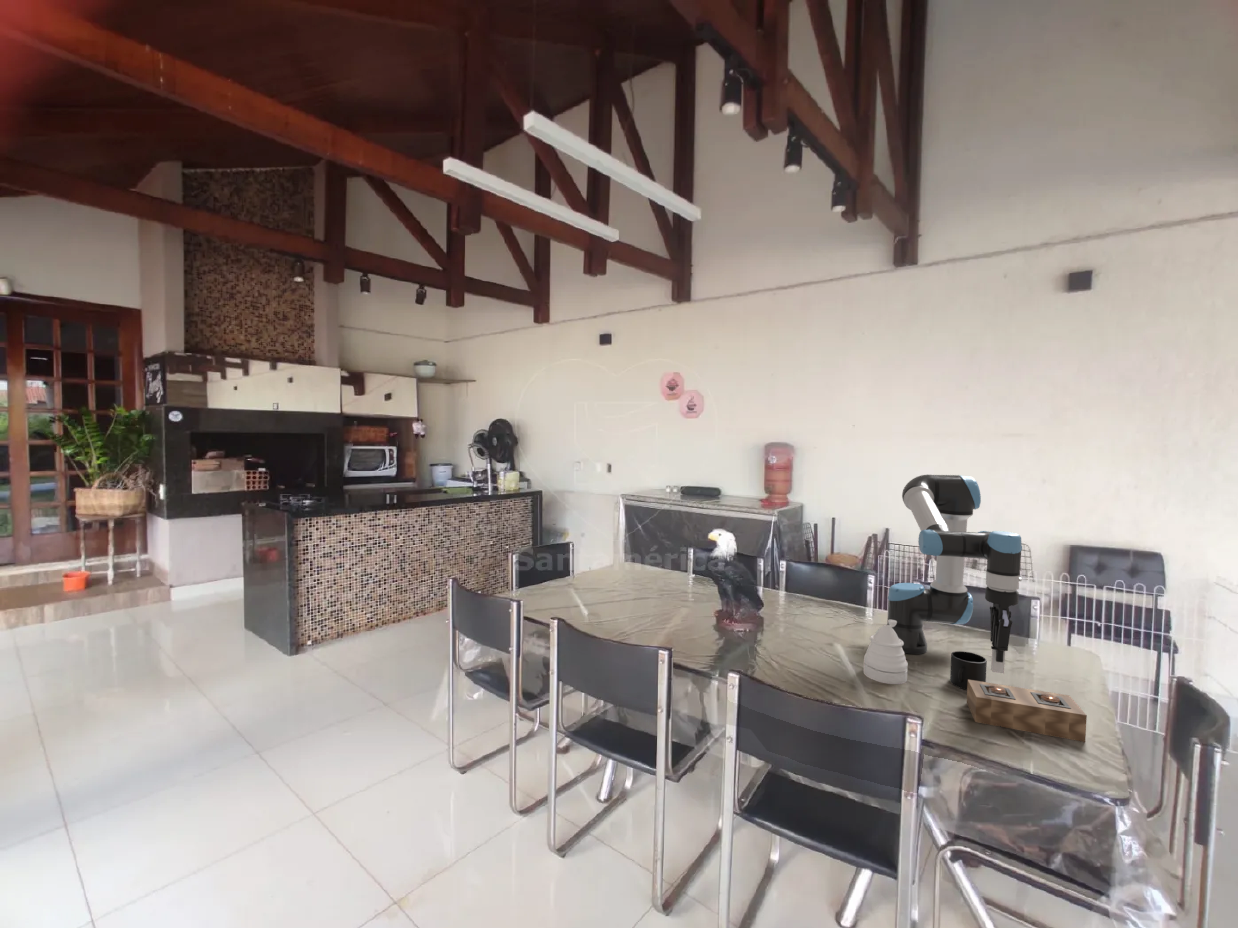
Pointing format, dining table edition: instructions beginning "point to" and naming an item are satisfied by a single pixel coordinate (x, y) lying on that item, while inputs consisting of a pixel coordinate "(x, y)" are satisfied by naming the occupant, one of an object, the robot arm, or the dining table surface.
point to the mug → (967, 668)
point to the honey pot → (886, 656)
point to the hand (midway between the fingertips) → (997, 671)
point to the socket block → (1026, 711)
